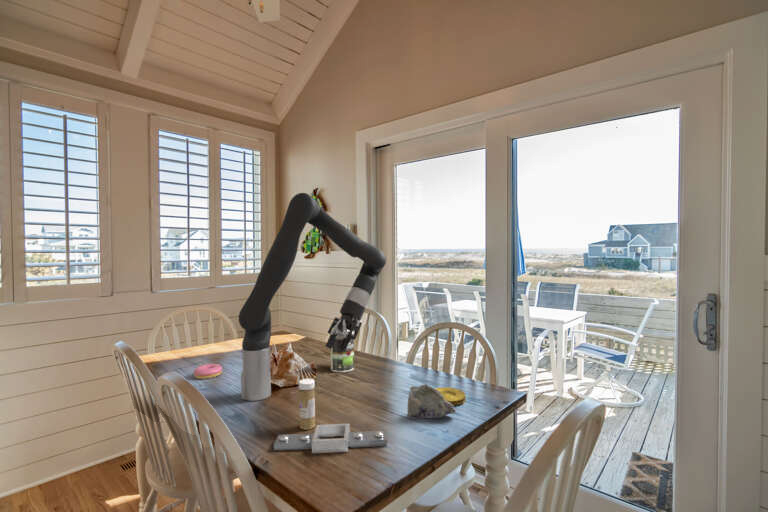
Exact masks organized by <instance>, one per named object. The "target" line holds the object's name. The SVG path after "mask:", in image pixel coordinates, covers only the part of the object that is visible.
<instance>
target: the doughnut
mask: <svg viewBox="0 0 768 512" xmlns="http://www.w3.org/2000/svg"><path fill="white" fill-rule="evenodd" d="M222 373H223V367H222V365H220V364H219V363H208V364H202V365H199V366H198V367H196V368H195V369H194V370H193V375H194V377H195V378H196V379H198V380H199V379H200V380H207V379H206V378H210V379H213V378H212V377H214V378H216V376H217V377H218V375H219V376H220V375H221V374H222Z"/></svg>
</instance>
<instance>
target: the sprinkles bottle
mask: <svg viewBox="0 0 768 512" xmlns="http://www.w3.org/2000/svg"><path fill="white" fill-rule="evenodd" d="M315 387H316V385H315V379H314V378H303V379H300V380H298V390H299V429H301V430H304V431H308V430H311V429H313V428H316V427H315V426H316V418H315V417H316V402H315V401H316V398H315Z"/></svg>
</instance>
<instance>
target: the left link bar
mask: <svg viewBox="0 0 768 512" xmlns="http://www.w3.org/2000/svg"><path fill="white" fill-rule="evenodd" d="M314 433H315V432H314ZM314 433H294V434H293V433H292V434H291V433H290V434H278V435H277V438H276V440H275V441H274V443H273V452H274V451H276V450H278V451H298V450H312V439H313V436H314Z"/></svg>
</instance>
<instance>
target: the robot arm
mask: <svg viewBox="0 0 768 512" xmlns="http://www.w3.org/2000/svg"><path fill="white" fill-rule="evenodd" d="M283 218H284V219H283V221H282V224H281V226H280V229H279V231H278V232H277V234H276V237H275V238H274V241H273V242H272V245H271V247H270V249H269V251H268V253H267V255H266V258H265V259H264V261H263V264H262V267H261V269H260V272H259V273H258V276H257V279H256V281H255V283H254V287H253V288H252V290H251V292H250V294H249V296H248V297H247V299H246V301H245V302H244V304H243V306H242V308H241V309H240V311H239V314H238V323H239V326H240V327H241V328H242V329H243V330H244V331H245V332H244V337H243V339H242V342H241V343H242V344H241V346H242V347H241V348H242V350H241V351H242V371H241V372H240V383H241V385H240V387H241V389H240V390H241V393H240V394H241V400H245V401H248V402H249V401H250V402H256V401H261V400H264V399H268V398H269V397H270V396H271V395H272V385H271V384H272V381H271V380H272V379H271V377H272V376H271V375H272V374H271V347H270V346H271V339H272V313H271V310H270V305H271V302H272V300H273V297H274V296H275V294H276V293H277V291H278V290H279V289H280V287H281V286H282V285H283V283H284V281H286V279H287V277H288V275H289V273H290V271H291V269H292V266H293V265H294V262H295V260H296V257H297V254H298V248H299V242H300V240H301V239H300V238H301V235H302V233H303V230H304V229H305V227H306V225H307V224H310V225H311V226H312V227H313V226H314V227H315V228H317V229H318V230H320V232H322V233H323V235H325V236H327V238H329V239H330V240H331V241H332V242H333V243H334V244H335V245H336V246H337V247H338V248H340V249H341V250H342V251H344V252H345V253H346V254H348V256H350V257H351V258H358V259H360V260H361V261H363V263H362V266H361V268H360V270H359V272H358V273H359V274H358V275H357V276H356V278H355V280H354V282H353V284H352V286H351V288H350V289H349V292H348V293H347V295H346V297H345V299H344V301H343V304H342V305H341V308H340V310H339V313H340V315H341V316H340V318H338V317H337V316H336V317H334V318H333V320H332V323H331V325H330V327H329V329H328V331H327V333H328V334H329V336H328V339H327V341H326V343H325V347H326V348H327V349H329V350H330V349H331V348H332V347H333V344H334V342H335V340H336V338H337V337H338V336H339V335H341V334H344V338H343V339H342V342H341V344H340V346H339V350H341V351H342V352H345V350H346V348H347V346H348V344H349V341H351V340H352V339H354V341H355V340H356V338H357V336H358V334H359V332H360V329H361V327H362V323H363V322H362V321H361V320H362V318H363V315H364V313H365V311H366V309H367V306H368V304H369V302H370V299H371V295H372V294H373V291H374V289H375V287H376V282H377V280H378V278H379V276H380V274H381V272H382V270H383V269H384V268H385V266H386V264H387V257H386V255H385V253H384V252H383V251H382V250H381V249H379V248H378V247H376V246H374V245H372V244H371V243H369V242H367V241H365V240H363V239H362V238H360V237H359V236H358V235H357V234H355V233H354V232H353V231H351V230H350V229H349V228H347V227H346V226H344V225H343V224H341V223H340V222H339V221H337V220H335V219H334V218H333V217H332V216H331V215H329V214H328V213H327V211H325V210H324V208H323V207H322V206H321V205H320V204H319V203H318V201H317V200H316V199H315V198H314V197H313V196H312V195H310V194H309V193H306V192H299V193H297V194H295V195H294V196H293V197H291V199H290V202H289V203H288V206H287V210H286V212H285V216H284V217H283Z"/></svg>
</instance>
